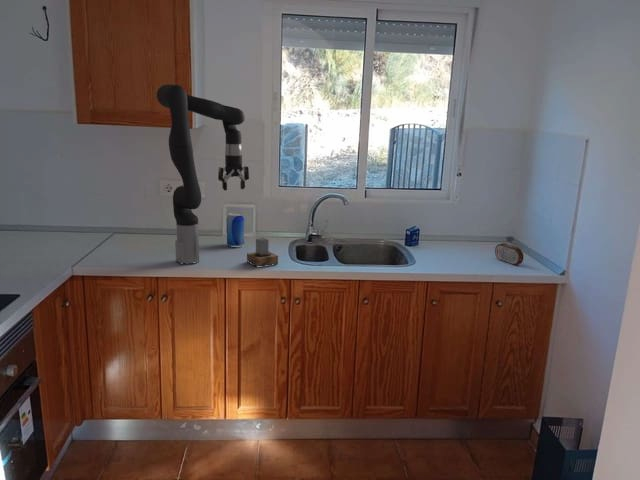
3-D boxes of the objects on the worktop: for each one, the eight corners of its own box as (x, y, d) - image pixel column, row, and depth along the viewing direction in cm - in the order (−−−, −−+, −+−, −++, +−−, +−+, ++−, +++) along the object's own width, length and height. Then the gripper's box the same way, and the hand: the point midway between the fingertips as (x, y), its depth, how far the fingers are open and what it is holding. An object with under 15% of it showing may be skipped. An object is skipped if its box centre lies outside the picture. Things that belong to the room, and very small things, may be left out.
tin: (522, 266, 246) (525, 248, 244) (518, 267, 245) (520, 249, 242) (497, 258, 259) (499, 241, 257) (492, 258, 257) (494, 241, 255)
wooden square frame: (257, 267, 231) (257, 259, 230) (246, 262, 239) (246, 253, 238) (277, 264, 237) (277, 255, 236) (266, 258, 245) (266, 250, 244)
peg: (260, 265, 236) (260, 240, 233) (255, 262, 239) (255, 238, 236) (268, 263, 238) (268, 239, 235) (263, 261, 241) (263, 237, 238)
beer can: (235, 249, 259) (235, 216, 255) (223, 246, 264) (222, 214, 260) (247, 245, 266) (247, 214, 262) (235, 242, 271) (235, 211, 267)
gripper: (222, 155, 235) (223, 192, 239) (251, 154, 243) (251, 189, 247) (215, 153, 241) (216, 189, 245) (244, 152, 249) (244, 187, 253)
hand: (233, 189), depth 246 cm, fingers open, 8 cm apart
